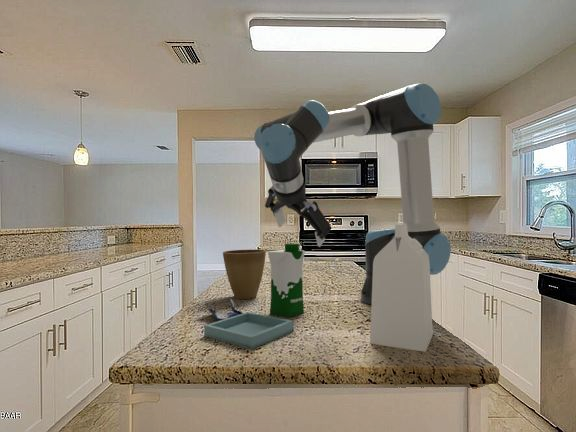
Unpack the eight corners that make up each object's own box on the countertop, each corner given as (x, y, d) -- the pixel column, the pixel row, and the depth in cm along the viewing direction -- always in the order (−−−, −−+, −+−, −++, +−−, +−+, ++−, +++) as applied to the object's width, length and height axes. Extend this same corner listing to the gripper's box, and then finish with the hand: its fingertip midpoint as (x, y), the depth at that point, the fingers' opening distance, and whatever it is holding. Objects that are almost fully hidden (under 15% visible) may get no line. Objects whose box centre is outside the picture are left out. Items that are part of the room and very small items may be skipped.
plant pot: (270, 292, 137) (269, 248, 137) (261, 302, 123) (260, 253, 123) (230, 292, 139) (230, 248, 139) (217, 301, 125) (216, 253, 125)
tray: (293, 331, 92) (293, 320, 92) (251, 349, 80) (251, 337, 80) (248, 321, 101) (248, 311, 101) (204, 336, 89) (204, 325, 89)
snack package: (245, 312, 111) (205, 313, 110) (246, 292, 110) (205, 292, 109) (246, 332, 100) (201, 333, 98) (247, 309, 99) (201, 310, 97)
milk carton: (289, 319, 103) (288, 245, 102) (264, 314, 108) (264, 244, 108) (308, 312, 109) (307, 243, 109) (284, 307, 115) (283, 242, 115)
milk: (383, 328, 93) (382, 223, 93) (432, 334, 88) (431, 223, 88) (370, 343, 83) (368, 224, 83) (425, 351, 77) (424, 224, 77)
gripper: (239, 176, 95) (259, 225, 111) (323, 213, 83) (331, 262, 100) (257, 157, 98) (274, 207, 115) (341, 190, 86) (346, 241, 103)
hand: (301, 232), depth 107 cm, fingers open, 13 cm apart
